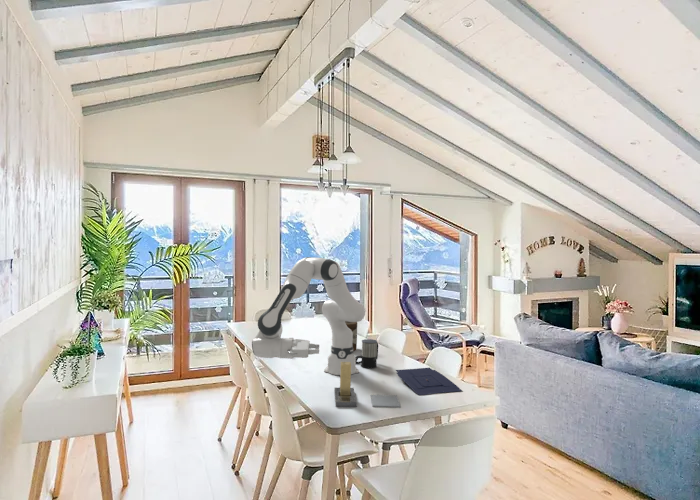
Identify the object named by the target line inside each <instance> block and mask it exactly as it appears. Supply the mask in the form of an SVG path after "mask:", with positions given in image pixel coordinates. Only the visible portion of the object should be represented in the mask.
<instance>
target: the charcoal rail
mask: <svg viewBox="0 0 700 500" xmlns="http://www.w3.org/2000/svg"><path fill="white" fill-rule="evenodd" d="M334 401H335V407H336V408H357V404H358V402H357V398H356V393H355V388H354V387H350V396H340V387H334Z"/></svg>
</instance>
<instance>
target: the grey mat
mask: <svg viewBox="0 0 700 500" xmlns="http://www.w3.org/2000/svg"><path fill="white" fill-rule="evenodd" d="M370 398H371V405H372V407H373V408H401V404H400V401H399V398H398V395H397V394H396V395H392V394H391V395H390V394H370Z"/></svg>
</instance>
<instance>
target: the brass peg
mask: <svg viewBox="0 0 700 500" xmlns="http://www.w3.org/2000/svg"><path fill="white" fill-rule="evenodd" d="M339 376H340V377H339V378H340V379H339V381H340V382H339V388H340V396H350V388H352V387H351V386H352V384H351V382H352V380H351V378H352V374H351V362H341V370H340V375H339Z"/></svg>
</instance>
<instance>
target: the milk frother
mask: <svg viewBox="0 0 700 500" xmlns="http://www.w3.org/2000/svg"><path fill="white" fill-rule="evenodd" d="M378 353H379V343H378V340H377V339H371V338H366V339H362V340H361V355H357V356H355V358H356V365H357V364H358V365H359V364H360V367H362V368H364V369H375V368H377V367H378V364H377V360H378V355H379V354H378ZM359 359H361V360H360V361H359Z"/></svg>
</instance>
